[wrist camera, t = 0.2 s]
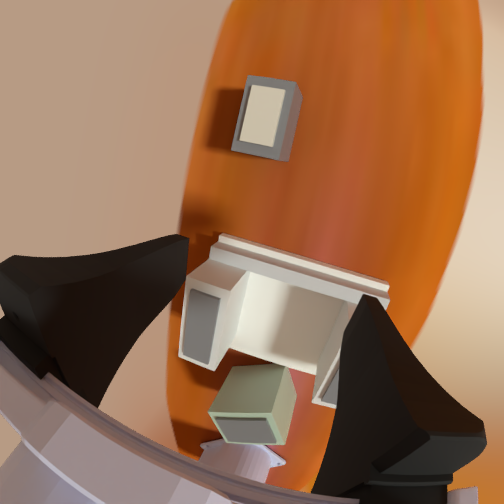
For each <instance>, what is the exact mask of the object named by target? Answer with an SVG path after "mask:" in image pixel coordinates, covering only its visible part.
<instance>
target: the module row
mask: <svg viewBox="0 0 504 504" xmlns="http://www.w3.org/2000/svg"><path fill="white" fill-rule="evenodd" d="M388 288H389V283H388V282H387V281H383V280H380V279H377V278H374V277H370V276H367V275H364V274H361V273H357V272H354V271H351V270H347V269H344V268H341V267H337V266H334V265H331V264H327V263H324V262H321V261H317V260H314V259H311V258H307V257H304V256H300V255H297V254H294V253H290V252H287V251H284V250H280V249H277V248H273V247H270V246H267V245H263V244H260V243H256V242H253V241H249V240H246V239H242V238H239V237H236V236H232V235H229V234H225V233H222V234H220V235H219V239H218V242H216V243H215V244H213V245H212V246H211V249H210V255H209V259H208V260H207V261H205V262H204V263H203V264H201V265H200V266H199V267H197V268H196V269H195V270H194V271H192V272H191V273H190V274H188V275H187V276H186V284H185V292H184V301H183V310H182V320H181V331H180V342H179V355H178V357H180V358H183V359H185V360H187V361H190V362H192V363H195V364H197V365H200V366H202V367H204V368H207V369H210V370H212V371H215V370H216V368H217V366H218V365H219V363H220V361H221V360H222V358H223V356H224V355H225V353H226V351H227V350H228V348H232V349H234V350H237V351H240V352H243V353H246V354H249V355H252V356H255V357H258V358H261V359H264V360H267V361H270V362H273V363H276V364H279V365H283V366H286V367H289V368H293V369H296V370H300V371H303V372H307V373H310V374H314V375H316V377H315V384H314V390H313V397H312V403H315V404H319V405H323V406H327V407H331V408H336V405H337V396H338V381H339V362H340V350H341V344H342V338H343V333H344V330H345V328H346V326H347V324H348V323H349V321H350V319H351V317H352V315H353V313H354V311H355V309H356V307H357V305H358V303H359V301H360V299H361V297H362V295H363V294H366V295H369V296H373V297H376V298H377V299H378V300H379V301H380V303H381V304H382V306H383V307H384V309H385V311H386V308H387V306H388V304H389V302H390V298H389V295H388V293H387V291H388Z"/></svg>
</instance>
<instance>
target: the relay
mask: <svg viewBox="0 0 504 504" xmlns="http://www.w3.org/2000/svg"><path fill="white" fill-rule="evenodd" d="M302 99H303V97H302V94H301V92H300V90H299V87H298V85H297V83H296V82H292V81H287V80H281V79H274V78H267V77H260V76H251V75H248V77H247V81H246V85H245V90H244V94H243V98H242V103H241V107H240V111H239V116H238V120H237V125H236V129H235V134H234V139H233V143H232V148H231V150H232V151H237V152H242V153H247V154H252V155H256V156H261V157H266V158H270V159H274V160H279V161H286V162H288V161H289V156H290V152H291V148H292V143H293V139H294V134H295V130H296V126H297V121H298V117H299V112H300V108H301V103H302Z"/></svg>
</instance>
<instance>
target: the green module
mask: <svg viewBox="0 0 504 504" xmlns="http://www.w3.org/2000/svg"><path fill="white" fill-rule="evenodd" d="M296 397H297V394H296V391H295V388H294V385H293V382H292V378H291V375H290V372H289V369H288V367H286V366H283V365H279V364H276V363H273V364H262V365H249V366H233V367H232V369H231V370H230V372H229V374H228V376H227V378H226V380H225V381H224V383H223V385H222V387H221V389H220V391H219V392H218V394H217V396H216V398H215V400H214V401H213V403H212V405H211V407H210V409H209V410H208V413H209V415H210V416H211V418H212V420H213V422H214V423H215V425H216V427H217V428H218V430H219V432H220V433H221V435H222V436H223V438H224V440H225V441H226V443H235V444H254V445H285V442H286V439H287V435H288V431H289V427H290V423H291V418H292V414H293V410H294V406H295V401H296Z"/></svg>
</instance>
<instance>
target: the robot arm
mask: <svg viewBox="0 0 504 504" xmlns="http://www.w3.org/2000/svg"><path fill="white" fill-rule="evenodd" d="M188 246H189V238H187V237H184V236H181V235H178V234H174V235H168V236H165V237H161V238H157V239H154V240H150V241H146V242H143V243H139V244H136V245H132V246H128V247H124V248H121V249H117V250H112V251H107V252H103V253H97V254H90V255H82V256H71V257H30V256H19V255H14V256H11V257H9V258H8V259H6V260H5V261H3V262H2V263H0V304H1V307H2V310H3V312H4V314H5V316H3V317H2V318H1V319H0V413H1V415H2V416H3V417H4V418H5V419H6V420H7V422H8V423H9V424H10V425H11V426H12V427H13V428H14V429H15V430H16V431H17V433H18V434H19V435H20V436H21V439H22V441H21V442H20V443H19V444H18V446H17V447H16V448H15V450H14V451H13V452H12V453H11V455H10V456H9V457H8V458H7V460H6V461H5V462H4V463H3V465H2V466H1V467H0V504H478V487H475V486H474V487H468V488H462V489H456V490H452V491H449V492H447V485H448V484H451V483H452V481H453V473H454V472H455V471H457V470H458V469H460V468H461V467H463V466H465V465H466V464H468V463H469V462H471V461H472V460H474V459H475V458H476V457H478V456H479V455H480V454H481V453H482V452H483V450H484V449H485V447H486V445H487V441H486V434H485V429H484V423H483V421H482V420H481V419H479V418H478V417H476V416H475V415H474V414H472V413H471V412H470V411H468V410H467V409H466V408H464V407H463V406H462V405H461V404H460V403H458V402H457V401H456V400H455V399H454V398H453V397H452V396H450V395H449V394H448V393H447V392H446V391H445V390H444V389H443V388H442V387H441V386H440V385H439V384H438V383H437V381H436V380H435V379H434V378H433V377H432V376H431V375H430V374H429V373H428V372H427V370H426V369H425V368H424V367H423V365H422V364H421V363H420V362H419V361H418V359H417V358H416V357H415V355H414V354H413V353H412V351H411V350H410V348H409V347H408V345H407V344H406V342H405V341H404V339H403V338H402V336H401V335H400V333H399V332H398V330H397V328H396V327H395V325H394V324H393V322H392V320H391V319H390V317H389V315H388V314H387V312H386V311H385V309H384V307H383V306H382V304H381V303H380V301H379V300H378V299H377V298H376V297H373V296H369V295H366V294H363V295H362V297H361V299H360V301H359V303H358V305H357V307H356V309H355V311H354V313H353V315H352V317H351V319H350V321H349V323H348V324H347V326H346V328H345V330H344V333H343V338H342V344H341V350H340V362H339V381H338V396H337V405H336V411H335V416H334V421H333V425H332V429H331V433H330V437H329V441H328V445H327V448H326V452H325V455H324V458H323V461H322V464H321V467H320V470H319V473H318V475H317V478H316V481H315V483H314V486H313V488H312V491H311V493H306V492H300V491H295V490H290V489H286V488H281V487H277V486H273V485H269V484H265V481H266V478H267V475H268V472H269V469H270V468H271V467H276V466H280V465H284V464H286V461H285V460H284V459H282V458H281V457H280V456H278V455H277V454H276V453H274V452H273V451H272V450H270V449H269V448H268V447H266V446H265V445H254V444H235V443H226V441H225V440H224V438H223V439H219V440H215V441H210V442H206V443H202V444H201V445H200V447H201V448H203V449H204V451H203V453H202V455H201V457H200V459H199V461H196V460H194V459H191V458H189V457H187V456H184V455H182V454H180V453H177V452H175V451H173V450H171V449H169V448H167V447H165V446H163V445H160V444H158V443H156V442H154V441H153V440H151V439H149V438H147V437H145V436H143V435H141V434H139V433H137V432H136V431H134V430H132V429H130V428H128V427H127V426H125V425H123V424H122V423H120V422H118V421H117V420H115V419H113V418H112V417H110V416H109V415H107V414H105V413H104V412H102V411H101V410H99V409H98V407H99V405H100V402H101V400H102V398H103V396H104V394H105V392H106V390H107V388H108V386H109V385H110V383H111V381H112V379H113V377H114V375H115V374H116V372H117V370H118V368H119V367H120V365H121V364H122V362H123V360H124V359H125V357H126V355H127V354H128V352H129V351H130V349H131V348H132V346H133V345H134V343H135V342H136V341H137V339H138V338H139V336H140V335H141V334H142V333H143V331H144V330H145V329H146V328H147V327H148V326H149V324H150V323H151V322H152V321H153V320H154V319H155V318H156V317H157V316H158V314H159V313H160V312H161V311H162V310H163V309H164V308H165V306H167V304H168V303H169V302H170V301H171V300H172V299H173V298H174V296H175V295H176V293H177V292H178V290H179V289H180V287H181V286H182V284H183V283H184V281H185V280H186V270H187V257H188Z"/></svg>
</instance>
